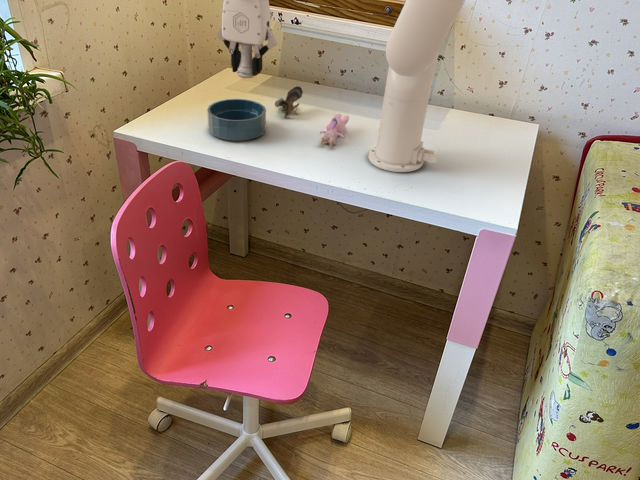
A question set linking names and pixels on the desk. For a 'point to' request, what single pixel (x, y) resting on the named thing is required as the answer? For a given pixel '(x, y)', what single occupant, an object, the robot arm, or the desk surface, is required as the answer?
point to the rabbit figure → (334, 129)
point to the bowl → (236, 119)
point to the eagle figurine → (290, 100)
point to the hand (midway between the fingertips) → (246, 71)
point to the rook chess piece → (245, 61)
